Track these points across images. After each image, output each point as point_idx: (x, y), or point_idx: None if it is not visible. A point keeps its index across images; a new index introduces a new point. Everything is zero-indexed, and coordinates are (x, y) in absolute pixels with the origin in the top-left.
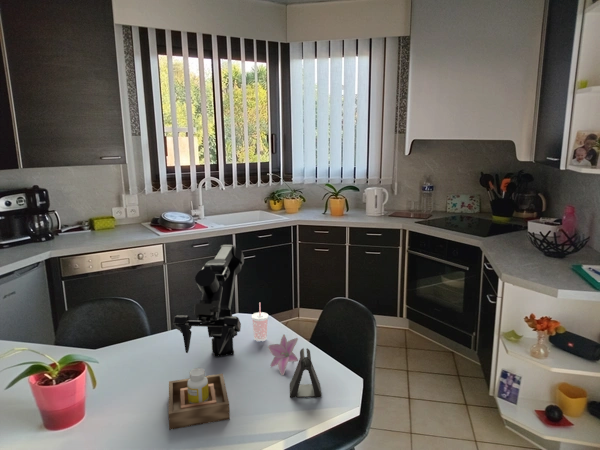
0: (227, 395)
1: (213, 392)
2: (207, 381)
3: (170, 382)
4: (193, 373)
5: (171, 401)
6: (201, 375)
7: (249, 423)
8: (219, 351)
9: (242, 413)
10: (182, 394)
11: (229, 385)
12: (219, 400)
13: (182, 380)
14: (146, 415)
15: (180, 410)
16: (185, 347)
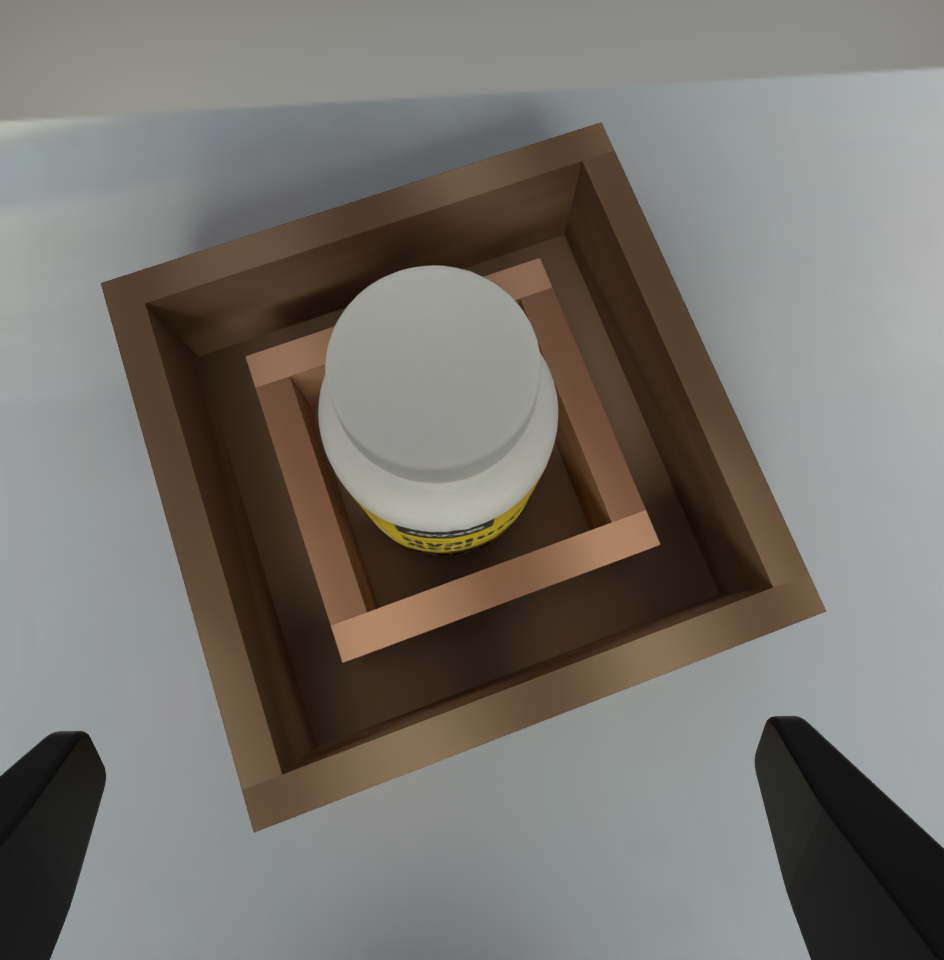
0: (134, 403)
1: (305, 501)
2: (318, 416)
3: (798, 590)
4: (472, 320)
5: (646, 282)
6: (352, 305)
7: (16, 312)
8: (42, 745)
9: (78, 421)
10: (599, 446)
11: (244, 831)
12: (283, 546)
13: (683, 643)
14: (819, 350)
15: (516, 168)
16: (859, 779)
